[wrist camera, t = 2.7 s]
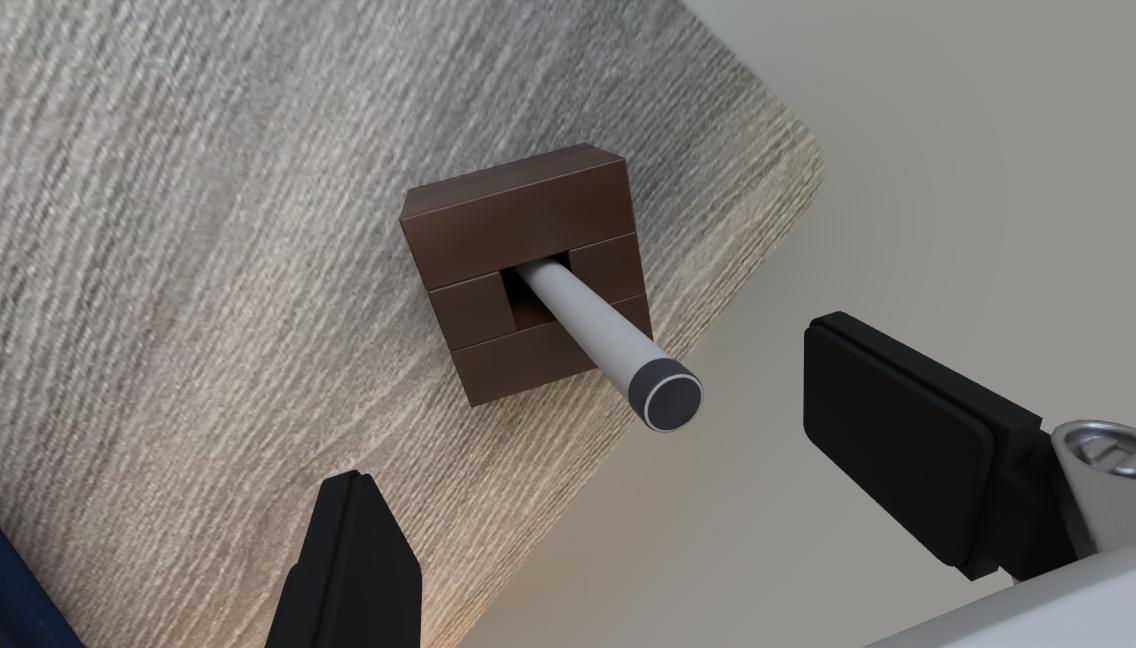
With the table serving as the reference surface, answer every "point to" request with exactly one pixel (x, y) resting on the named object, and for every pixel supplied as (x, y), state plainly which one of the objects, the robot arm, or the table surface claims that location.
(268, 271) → the table surface
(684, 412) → the stylus
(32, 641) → the book
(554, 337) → the pen stand
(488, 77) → the table surface
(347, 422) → the table surface
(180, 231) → the table surface
